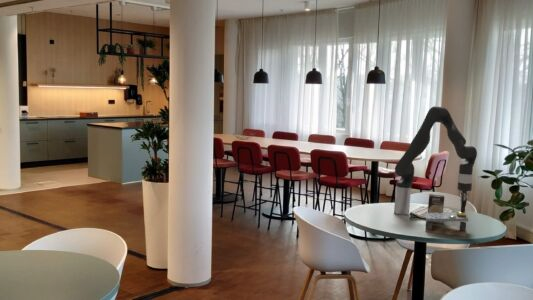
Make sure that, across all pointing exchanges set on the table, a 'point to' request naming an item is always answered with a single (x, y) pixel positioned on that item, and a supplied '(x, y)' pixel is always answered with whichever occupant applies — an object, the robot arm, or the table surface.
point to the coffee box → (436, 204)
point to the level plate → (446, 216)
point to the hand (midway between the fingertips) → (462, 212)
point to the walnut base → (446, 229)
